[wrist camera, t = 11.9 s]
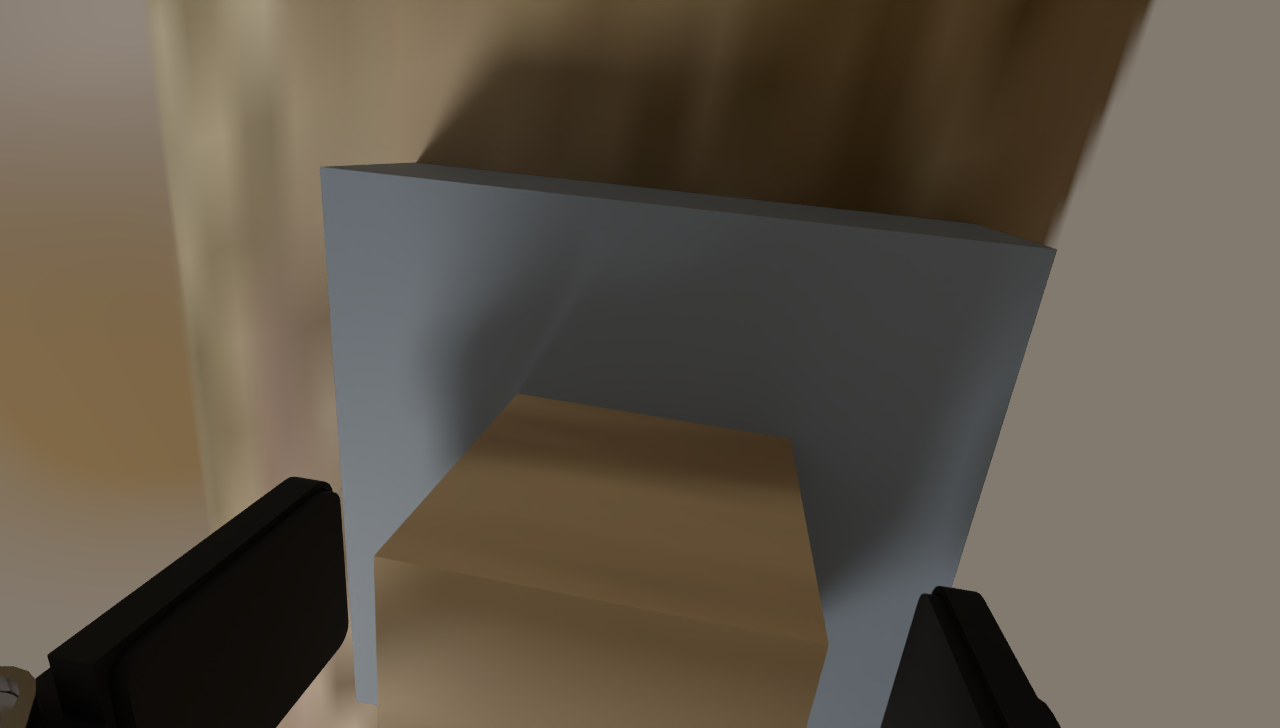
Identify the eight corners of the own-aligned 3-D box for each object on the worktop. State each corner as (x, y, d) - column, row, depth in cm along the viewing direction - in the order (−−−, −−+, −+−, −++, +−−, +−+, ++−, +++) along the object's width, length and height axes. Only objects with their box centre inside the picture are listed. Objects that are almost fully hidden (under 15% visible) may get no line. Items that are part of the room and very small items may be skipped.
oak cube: (517, 393, 12) (373, 556, 7) (790, 438, 11) (829, 645, 7) (505, 611, 13) (382, 859, 9) (742, 659, 13) (746, 949, 8)
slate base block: (426, 161, 15) (320, 167, 11) (967, 221, 13) (1057, 249, 10) (432, 589, 19) (356, 701, 15) (851, 665, 17) (882, 807, 14)
